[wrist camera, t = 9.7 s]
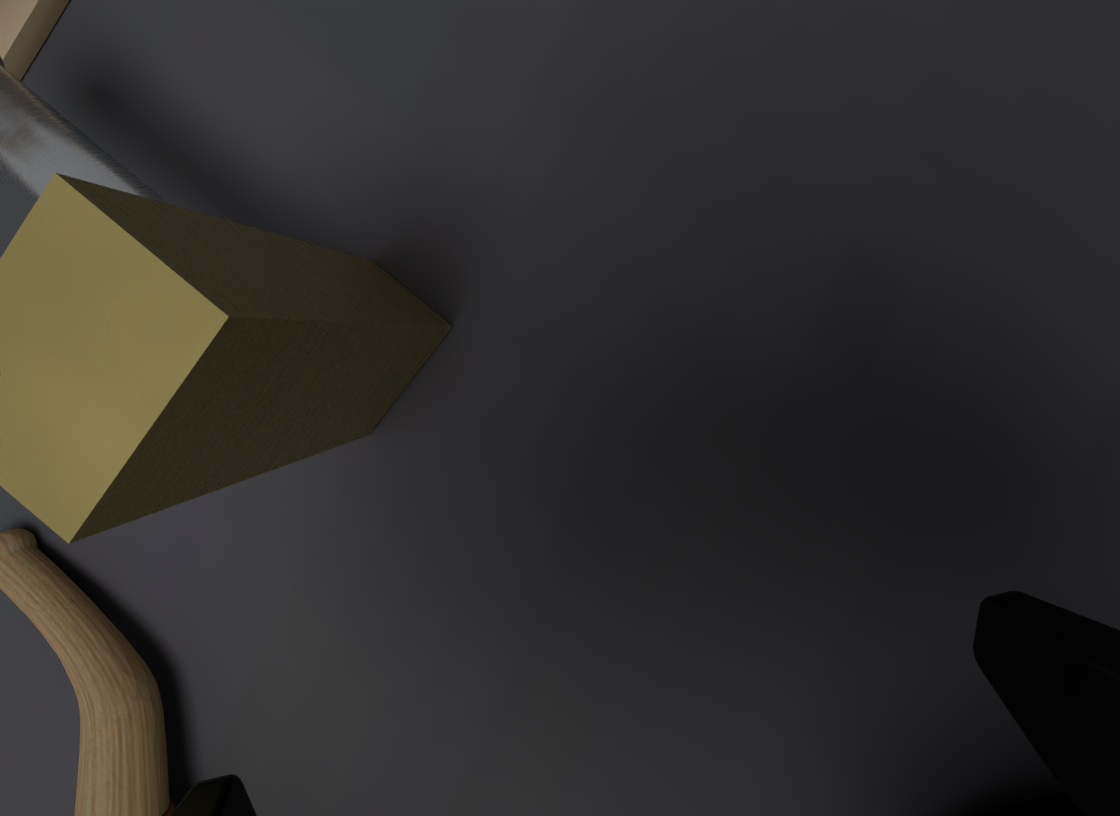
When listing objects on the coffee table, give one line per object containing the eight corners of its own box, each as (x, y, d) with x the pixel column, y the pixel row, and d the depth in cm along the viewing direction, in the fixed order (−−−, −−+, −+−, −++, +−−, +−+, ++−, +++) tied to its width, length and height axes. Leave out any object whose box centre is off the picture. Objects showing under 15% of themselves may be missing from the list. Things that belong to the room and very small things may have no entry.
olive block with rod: (452, 326, 20) (228, 316, 9) (369, 434, 21) (69, 543, 10) (111, 46, 21) (-487, -277, 10) (39, 160, 21) (-599, -23, 10)
